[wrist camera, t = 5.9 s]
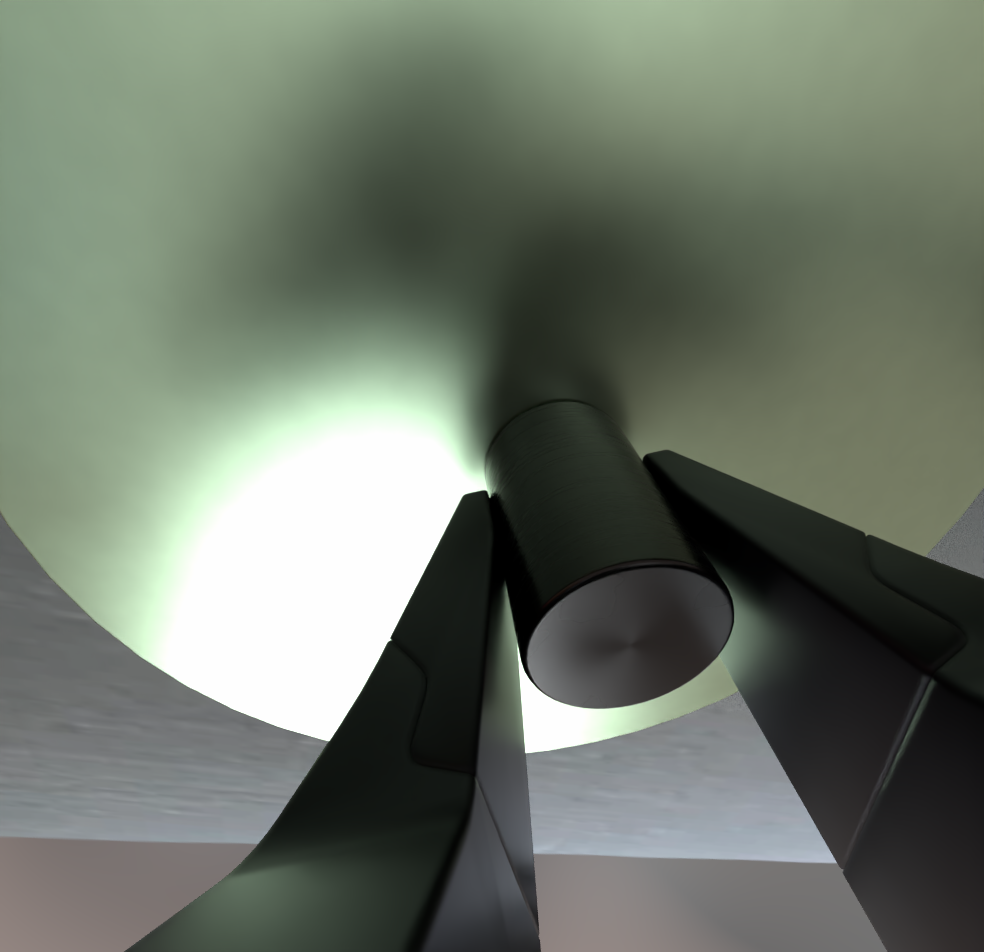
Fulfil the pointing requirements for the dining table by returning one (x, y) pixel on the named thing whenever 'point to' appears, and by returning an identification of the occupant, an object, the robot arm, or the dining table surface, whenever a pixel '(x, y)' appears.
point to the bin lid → (475, 317)
